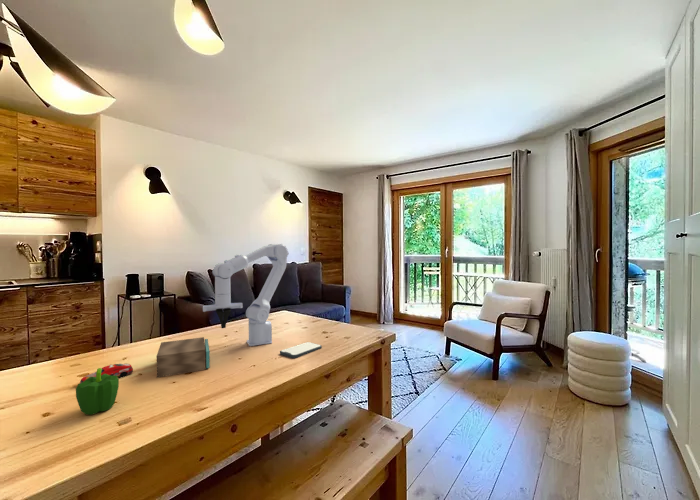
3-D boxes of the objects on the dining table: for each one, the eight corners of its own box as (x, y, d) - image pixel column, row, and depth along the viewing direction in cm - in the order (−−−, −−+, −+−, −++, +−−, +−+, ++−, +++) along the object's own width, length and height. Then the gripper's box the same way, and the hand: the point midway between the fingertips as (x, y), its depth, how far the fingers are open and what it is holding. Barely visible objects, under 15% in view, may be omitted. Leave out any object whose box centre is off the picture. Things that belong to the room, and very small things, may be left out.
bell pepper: (108, 416, 75) (107, 375, 75) (68, 420, 73) (68, 378, 73) (125, 400, 83) (125, 363, 83) (90, 403, 82) (90, 365, 82)
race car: (82, 390, 90) (82, 376, 90) (77, 384, 93) (77, 371, 93) (135, 375, 100) (134, 362, 100) (129, 370, 104) (129, 359, 104)
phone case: (307, 345, 132) (278, 355, 119) (307, 341, 132) (278, 350, 119) (323, 349, 126) (294, 360, 114) (323, 345, 126) (294, 355, 114)
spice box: (204, 354, 118) (203, 337, 118) (205, 369, 104) (205, 349, 104) (161, 361, 112) (161, 342, 112) (156, 377, 98) (156, 356, 98)
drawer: (207, 353, 119) (207, 338, 119) (209, 367, 105) (209, 351, 105) (166, 359, 113) (166, 343, 113) (162, 375, 98) (161, 357, 98)
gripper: (240, 290, 130) (241, 323, 130) (202, 293, 123) (202, 327, 123) (243, 293, 123) (243, 327, 124) (203, 296, 117) (203, 331, 117)
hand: (223, 327), depth 123 cm, fingers closed
